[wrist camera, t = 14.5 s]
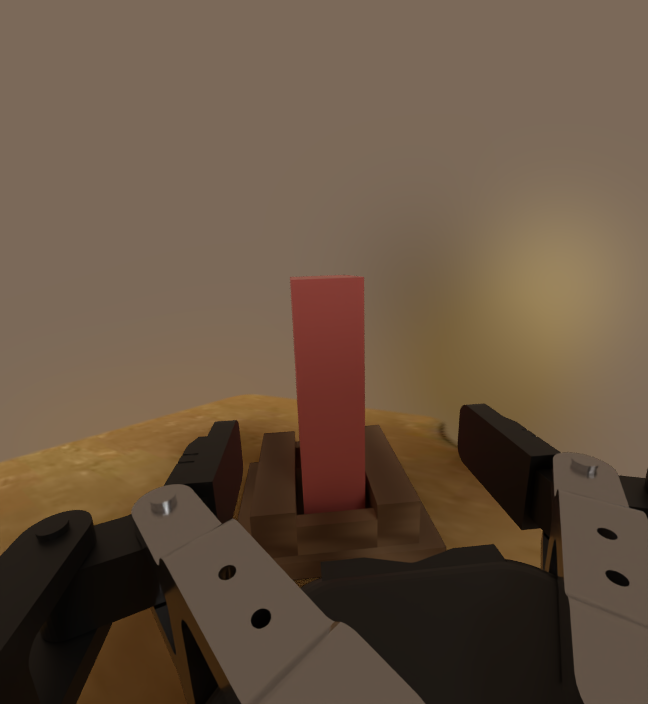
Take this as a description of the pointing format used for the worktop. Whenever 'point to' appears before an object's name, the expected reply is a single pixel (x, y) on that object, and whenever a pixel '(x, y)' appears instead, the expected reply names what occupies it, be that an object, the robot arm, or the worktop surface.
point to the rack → (334, 527)
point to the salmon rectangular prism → (330, 390)
